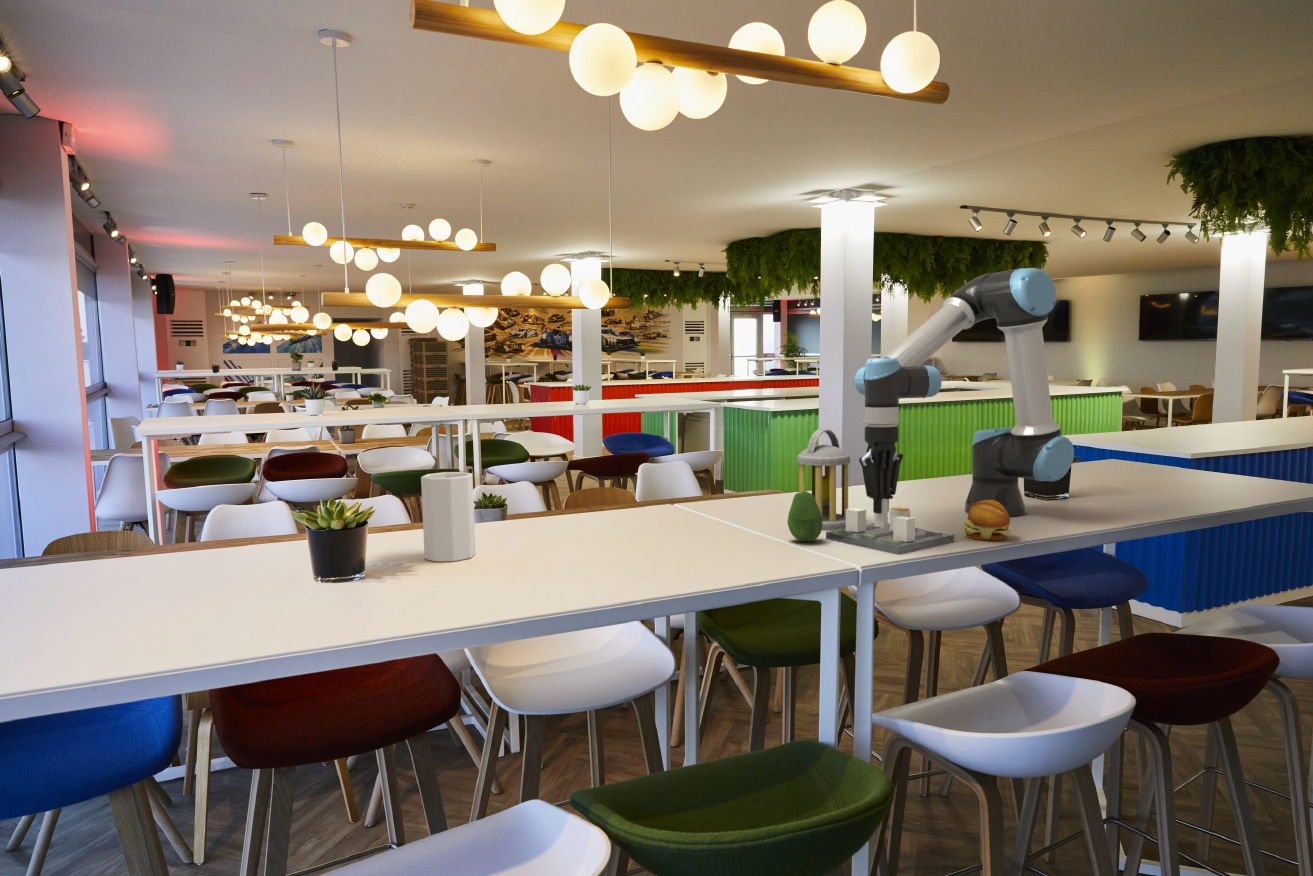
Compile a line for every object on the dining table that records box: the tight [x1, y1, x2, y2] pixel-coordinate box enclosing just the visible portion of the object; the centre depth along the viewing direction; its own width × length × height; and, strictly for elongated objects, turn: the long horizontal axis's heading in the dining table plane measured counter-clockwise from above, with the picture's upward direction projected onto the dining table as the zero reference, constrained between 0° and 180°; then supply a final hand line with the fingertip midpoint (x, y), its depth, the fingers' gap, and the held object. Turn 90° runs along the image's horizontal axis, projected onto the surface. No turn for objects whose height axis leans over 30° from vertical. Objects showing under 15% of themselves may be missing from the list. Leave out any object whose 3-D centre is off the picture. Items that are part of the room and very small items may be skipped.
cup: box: [420, 471, 477, 563], centre depth 184 cm, size 11×11×18 cm
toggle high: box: [893, 516, 916, 542], centre depth 185 cm, size 3×4×5 cm
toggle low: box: [846, 507, 867, 532], centre depth 196 cm, size 3×4×5 cm
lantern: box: [796, 428, 851, 532], centre depth 211 cm, size 14×14×25 cm
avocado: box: [787, 490, 823, 543], centre depth 193 cm, size 8×8×12 cm
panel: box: [825, 522, 955, 555], centre depth 193 cm, size 20×21×2 cm
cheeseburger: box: [963, 500, 1011, 542], centre depth 193 cm, size 10×11×10 cm
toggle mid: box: [889, 506, 911, 531], centre depth 195 cm, size 3×4×5 cm
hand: (880, 526), depth 191 cm, fingers closed
